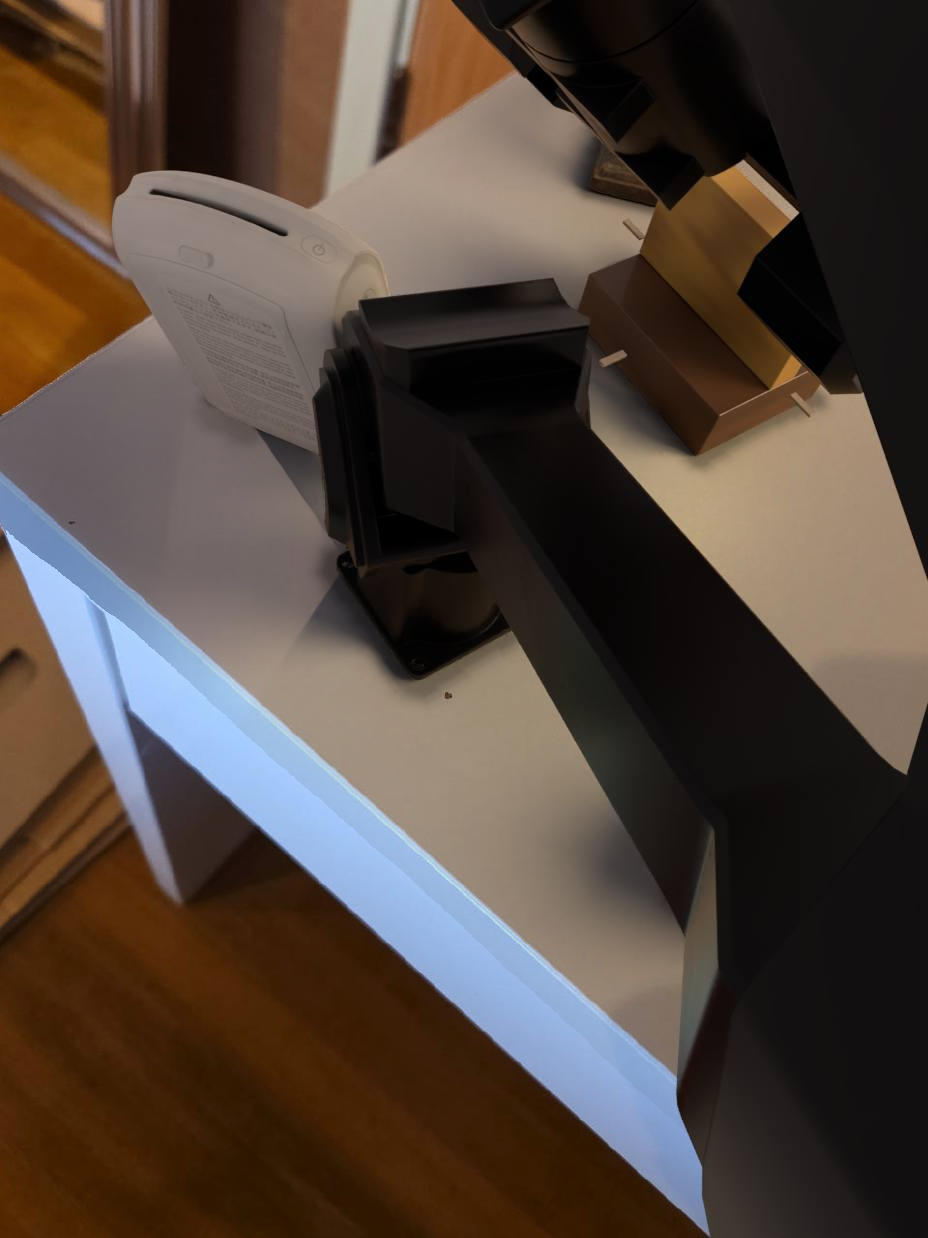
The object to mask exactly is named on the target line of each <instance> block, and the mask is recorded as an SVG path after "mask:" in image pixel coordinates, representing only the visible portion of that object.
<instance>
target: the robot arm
mask: <svg viewBox="0 0 928 1238" xmlns="http://www.w3.org/2000/svg"><path fill="white" fill-rule="evenodd" d="M450 1H451V2H452V3H453V5H454V6H455V7H456V8H457V9H458V11H459V12H461V14H462V15H463V16H464V17H465V19H466V20H467V21H468V22H469V23H470V24H471V26H472V27H473V28H474V29H475V30H476V31H477V33H479V34H480V35H481V37H483V39H484V40H485V41H486V42H487V43H488V44H489V45H490V46H491V47H492V48H493V49H494V50H495V51H496V52H497V53H498V54H499V55H500V56H501V57H502V59H504V60H505V61H506V62H507V63H508V64H509V66H511V67H512V69H513V70H514V71H515V72H517V74H518V75H520V76H521V77H522V78H523V79H526V80H527V81H528V82H529V83H530V84H531V85H532V86H533V87H534V88H535V89H536V91H538V92H539V93H540V94H541V95H542V96H543V97H544V99H546V101H548V102H549V104H551V106H552V107H554V108H557V109H559V110H563V111H565V112H568V113H571V114H574V116H576V117H577V119H578V120H579V121H580V122H581V123H582V124H583V125H584V126H585V127H586V128H587V129H588V130H589V131H590V132H591V133H592V134H593V135H594V136H595V137H596V138H597V139H598V141H600V142H601V144H602V143H603V144H604V145H605V146H606V147H607V148H608V149H609V150H610V151H611V152H612V153H613V154H614V155H615V156H616V157H617V158H618V159H619V160H620V161H621V162H622V163H623V164H624V165H625V166H626V167H627V168H628V169H629V170H630V171H631V172H632V173H633V174H634V175H635V176H636V178H637V179H638V180H639V181H640V182H641V183H642V184H643V185H644V186H645V187H646V188H647V189H648V190H649V191H650V192H651V193H652V194H653V195H654V196H655V197H656V198H657V199H658V200H659V201H660V202H661V203H662V204H663V205H664V206H665V207H666V208H667V209H668V210H669V211H671V210H672V208H673V207H674V206H675V205H676V204H677V203H678V202H679V201H680V200H681V199H682V198H683V197H684V196H685V195H686V194H687V193H688V192H689V191H690V190H691V189H692V188H693V186H694V185H695V184H696V183H697V182H698V181H699V180H700V179H701V178H702V177H703V176H706V177H713V176H715V175H718V174H720V173H722V172H724V171H726V170H728V169H730V168H732V167H733V166H735V167H736V165H738V164H740V163H742V162H743V161H744V162H745V163H746V164H747V165H748V166H749V167H750V168H751V169H752V170H754V172H756V173H757V175H759V176H760V177H761V178H762V180H764V181H765V182H767V184H769V185H770V186H771V188H772V189H773V190H775V191H776V193H778V194H779V196H781V197H782V198H783V199H784V200H785V201H786V202H787V203H788V204H789V205H790V206H791V207H793V208H794V209H795V210H796V211H797V212H798V213H797V214H796V215H795V216H794V217H793V218H792V219H790V220H791V221H790V222H789V223H788V224H787V225H786V226H785V227H784V228H783V229H782V230H781V231H780V232H779V233H778V234H777V235H776V236H775V237H774V238H773V239H772V240H771V241H770V242H769V243H768V244H767V245H766V246H765V247H764V248H763V249H762V250H761V251H760V252H759V253H758V254H757V255H756V256H755V258H754V260H753V262H752V264H751V266H750V268H749V270H748V272H747V274H746V276H745V278H744V280H743V282H742V284H741V286H740V288H739V290H738V292H737V295H738V296H739V298H740V299H741V300H742V301H743V303H744V304H745V305H746V306H747V308H748V309H749V310H750V311H751V312H752V313H753V314H754V315H755V316H756V317H757V319H758V320H759V321H760V322H761V323H762V324H763V325H764V326H765V327H766V328H767V330H768V331H769V332H770V333H771V334H772V335H773V336H774V337H775V338H776V339H777V340H778V341H779V342H780V343H781V344H782V345H783V346H784V347H785V348H786V349H787V350H788V351H789V352H790V353H791V354H792V355H793V357H794V358H795V359H796V360H797V361H798V362H799V363H800V364H801V365H802V366H803V367H804V368H805V369H806V370H807V371H808V372H809V373H810V374H811V375H812V376H813V377H814V378H815V379H816V380H817V381H818V382H819V383H820V386H821V387H822V388H823V389H824V390H826V392H828V394H829V395H830V396H831V395H832V396H833V395H862V394H863V396H864V400H865V402H866V405H867V408H868V411H869V415H870V417H871V419H872V422H873V426H874V428H875V431H876V434H877V437H878V440H879V443H880V446H881V449H882V451H883V455H884V457H885V460H886V463H887V466H888V469H889V473H890V475H891V478H892V481H893V484H894V486H895V490H896V493H897V496H898V498H899V501H900V503H901V507H902V511H903V513H904V516H905V519H906V522H907V524H908V528H909V530H910V533H911V537H912V540H913V543H914V545H915V549H916V551H917V555H918V556H919V560H920V562H921V566H922V569H923V572H924V575H925V577H926V580H927V581H928V0H450ZM559 288H560V287H559V286H558V284H557V282H556V280H555V278H554V277H545V278H537V279H530V280H529V279H528V280H520V281H511V282H510V281H509V282H502V283H494V284H485V285H477V286H465V287H458V288H450V289H441V290H440V289H439V290H432V291H424V292H423V291H422V292H415V293H405V294H399V295H397V294H396V295H391V296H388V297H379V298H370V299H362V300H358V307H359V310H351V311H347V312H346V314H345V315H344V316H343V318H342V327H343V332H344V336H345V338H346V340H347V342H348V343H349V344H350V346H347V347H342V348H334V349H327V350H325V352H324V357H323V367H322V368H319V379H320V388H319V389H318V390H317V392H316V393H315V395H314V396H313V397H312V405H313V413H314V420H315V427H316V435H317V442H318V449H319V454H318V457H319V463H320V471H321V478H322V487H323V496H324V525H325V529H326V533H327V537H329V539H333V540H334V541H335V542H339V543H340V544H341V545H343V546H345V549H346V551H344V552H341V553H340V554H339V555H338V556H337V558H336V563H335V569H336V572H337V573H338V575H339V576H340V578H341V579H342V580H343V582H344V584H345V585H346V586H347V588H348V589H349V591H350V593H351V594H352V595H353V597H354V598H355V600H356V601H357V603H358V604H359V605H360V607H361V609H362V610H363V611H364V613H365V614H366V616H367V618H368V619H369V621H370V622H371V623H372V624H373V626H374V628H375V629H376V631H377V632H378V634H379V635H380V636H381V638H382V639H383V641H384V642H385V644H386V646H387V647H388V649H389V650H390V651H391V653H392V655H394V658H396V660H397V661H398V663H399V665H400V666H401V667H402V669H403V671H404V672H405V673H406V675H407V676H408V677H409V678H410V679H412V680H416V681H422V680H424V679H426V678H427V677H430V676H432V675H434V674H435V673H437V672H439V671H441V670H442V669H444V668H446V667H449V666H450V665H452V664H454V663H455V662H457V661H459V660H461V659H463V658H464V657H466V656H468V655H470V654H471V653H474V652H475V651H477V650H479V649H481V648H483V647H484V646H486V645H488V644H490V643H492V642H494V641H496V640H497V639H499V638H501V637H503V636H505V635H506V634H508V633H510V632H512V633H513V636H515V638H516V640H517V642H518V644H519V645H520V648H521V649H522V651H523V652H524V654H525V656H526V658H527V660H528V661H529V663H530V664H531V667H532V668H533V670H534V672H535V673H536V675H537V677H538V679H539V681H540V682H541V684H542V686H543V687H544V689H545V691H546V693H547V695H548V696H549V698H550V700H551V702H552V703H553V705H554V707H555V708H556V710H557V712H558V714H559V715H560V717H561V720H562V721H563V723H564V724H565V726H566V728H567V730H568V732H569V733H570V735H571V737H572V738H573V740H574V742H575V743H576V745H577V748H578V749H579V750H580V752H581V753H582V754H581V755H582V756H583V758H584V759H585V762H586V763H587V764H588V766H589V768H590V770H591V772H592V773H593V775H594V777H595V779H596V780H597V782H598V784H599V786H600V787H601V790H602V791H603V792H604V794H605V796H606V798H607V799H608V802H609V803H610V805H611V807H612V809H613V810H614V812H615V813H616V816H617V817H618V819H619V821H620V823H621V824H622V826H623V827H624V828H623V829H625V831H626V833H627V834H628V836H629V838H630V840H631V842H632V844H633V845H634V847H635V849H636V851H637V852H638V854H639V856H640V858H641V860H642V861H643V863H644V865H645V867H646V868H647V870H648V872H649V873H650V875H651V877H652V879H653V880H654V882H655V883H656V886H657V888H659V891H660V893H661V895H662V896H663V898H664V899H665V901H666V904H667V905H668V906H669V908H670V911H671V912H672V914H673V916H674V919H675V920H676V923H677V924H678V927H679V929H680V931H681V933H682V935H683V938H684V945H683V947H684V949H683V966H682V981H681V983H682V984H681V998H680V999H681V1000H680V1001H681V1002H680V1015H679V1016H680V1018H679V1033H678V1034H679V1035H678V1050H677V1067H676V1070H677V1071H676V1072H677V1073H676V1085H675V1086H676V1088H675V1096H676V1106H677V1109H678V1113H679V1116H680V1118H681V1122H682V1123H683V1126H684V1129H685V1130H686V1133H687V1136H688V1138H689V1140H690V1142H691V1145H692V1147H693V1150H694V1152H695V1154H696V1156H697V1159H698V1161H699V1163H700V1165H701V1199H702V1203H703V1208H704V1214H705V1218H706V1223H707V1228H708V1233H709V1238H928V702H927V704H926V707H925V710H924V714H923V717H922V720H921V723H920V728H919V731H918V734H917V738H916V741H915V744H914V747H913V751H912V754H911V757H910V762H909V765H908V767H907V771H906V773H904V772H902V771H901V770H899V769H897V768H895V766H893V765H892V764H891V763H890V762H888V761H887V760H886V759H885V758H884V756H882V755H881V754H880V753H879V751H877V749H876V748H875V747H874V746H873V745H872V744H871V742H870V741H869V740H868V739H867V738H866V737H865V736H864V734H863V733H862V732H861V731H860V730H859V729H858V728H857V726H855V724H854V723H853V722H852V721H851V720H850V718H848V716H847V715H845V713H844V712H843V711H842V710H841V709H840V708H839V707H838V705H837V704H836V703H835V702H834V701H833V700H832V698H830V696H829V695H828V694H827V693H826V692H825V690H824V689H823V688H822V687H821V686H820V685H819V684H818V682H817V681H815V680H814V679H813V677H812V676H811V675H810V674H809V673H808V672H807V670H806V669H805V668H804V667H803V666H802V665H801V663H800V662H799V661H798V660H797V659H796V658H795V657H794V656H793V654H792V653H791V652H790V651H789V650H788V649H787V648H786V647H785V645H783V643H782V642H781V641H780V640H779V639H778V638H777V637H776V636H775V634H774V633H773V632H772V631H771V630H770V629H769V627H768V626H767V625H766V624H765V623H764V621H762V620H761V618H759V616H758V615H757V614H756V613H755V611H753V609H752V608H751V607H750V606H749V604H747V603H746V602H745V600H744V599H743V598H742V597H741V595H739V593H738V592H737V591H736V590H735V589H734V587H732V586H731V585H730V583H728V581H727V580H726V579H725V578H724V577H723V575H721V573H720V572H719V571H718V570H717V568H716V567H714V565H713V564H712V562H711V561H709V560H708V558H707V557H706V556H705V555H704V554H703V553H702V552H701V551H700V549H698V547H697V546H696V545H695V543H693V542H692V541H691V540H690V538H689V537H688V536H687V535H686V534H685V532H683V530H681V528H680V527H679V526H678V525H677V523H675V521H673V519H672V518H671V517H670V515H668V513H667V512H666V511H665V510H664V509H663V508H662V507H661V506H660V504H658V502H657V501H656V500H655V499H654V497H652V495H650V493H649V491H647V490H646V489H645V487H644V486H643V485H642V484H641V483H640V482H639V480H637V479H636V477H635V476H634V475H633V474H632V473H631V472H630V471H629V469H628V468H627V467H626V466H625V464H623V462H622V461H620V459H619V458H618V457H617V456H616V455H615V453H613V452H612V450H611V449H610V448H609V447H608V446H607V445H606V443H605V442H603V440H602V439H601V438H600V437H599V436H598V434H596V432H595V431H594V430H593V429H592V422H591V421H592V420H591V408H590V396H589V395H590V394H589V391H590V382H591V381H590V380H591V370H592V362H593V355H592V353H591V351H590V349H589V348H588V346H587V345H588V344H587V343H588V339H589V328H590V323H591V318H589V317H587V316H585V315H583V314H581V313H579V312H577V311H578V310H576V309H574V308H573V307H571V305H570V304H569V302H567V300H566V299H565V298H564V296H563V294H562V292H561V290H560V289H559ZM344 563H351V564H352V565H351V566H345V565H344ZM415 664H421V666H423V668H422V669H416V668H415V667H414V665H415Z"/></svg>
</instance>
